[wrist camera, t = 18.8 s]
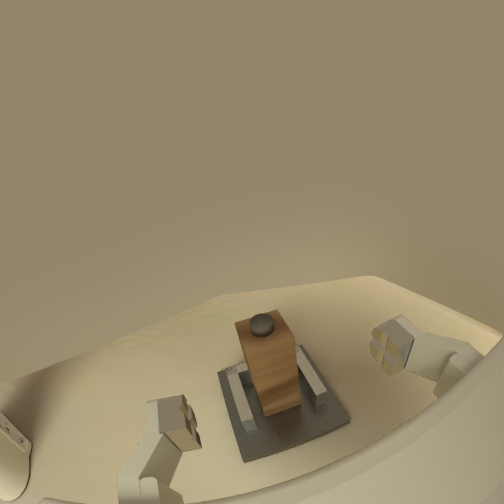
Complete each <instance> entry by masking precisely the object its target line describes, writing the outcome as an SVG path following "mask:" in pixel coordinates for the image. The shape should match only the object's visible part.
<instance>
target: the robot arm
mask: <svg viewBox="0 0 504 504" xmlns="http://www.w3.org/2000/svg"><path fill="white" fill-rule="evenodd" d="M372 336H373V337H374V338H373V339H372V341H371V342H370V351H371V354H372V356H373V357H374V359H375V360H376V361H379V362H382V368H383V369H384V370H385V371H386V372H387V373H388V374H389V376H392V375H394V374H395V373H397V372H399V371H401V370H402V369H404V368H405V370H408V371H410V372H413V373H415V374H418V375H420V376H423V377H425V378H428V379H430V380H433V381H435V382H438V383H437V384H436V386H435V388H434V391H433V393H434V394H435V395H436V396H437V397H438V399H437V400H436V401H434V402H433V403H432V404H431V405H429V406H428V407H427V408H425V409H424V410H423V411H421V412H420V413H418V414H417V415H416V416H414V417H413V418H411V419H410V420H408V421H407V422H405V423H404V424H402V425H401V426H399V427H398V428H396V429H395V430H393V431H391V432H390V433H388V434H386V435H385V436H383V437H381V438H380V439H378V440H376V441H375V442H373V443H371V444H369V445H367V446H366V447H364V448H362V449H360V450H358V451H356V452H354V453H352V454H350V455H348V456H346V457H344V458H342V459H340V460H338V461H336V462H333V463H331V464H329V465H327V466H324V467H322V468H320V469H317V470H315V471H312V472H310V473H307V474H305V475H302V476H299V477H297V478H294V479H291V480H288V481H285V482H282V483H279V484H276V485H273V486H269V487H266V488H263V489H259V490H255V491H252V492H248V493H244V494H239V495H235V496H230V497H225V498H220V499H215V500H209V501H203V502H196V503H188V504H504V336H503V337H502V338H501V339H500V341H499V342H498V343H497V344H496V345H495V346H494V347H493V348H492V349H491V350H490V352H489V353H488V354H487V355H486V356H485V357H484V356H483V355H482V354H480V353H479V352H478V351H477V350H476V349H475V348H474V347H472V346H471V345H470V344H469V343H468V342H464V341H460V340H455V339H451V338H447V337H442V336H438V335H434V334H430V333H425V334H424V333H422V332H421V331H420V330H419V329H418V328H417V327H415V326H414V325H413V324H412V323H411V322H410V321H408V320H407V319H406V318H405V317H404V316H402V315H399V316H397V317H395V318H393V319H392V320H389V321H387V322H385V323H383V324H381V325H379V326H377V327H375V328H374V329H373V331H372ZM145 413H146V436H143V437H142V439H141V440H140V442H139V443H138V445H137V447H136V448H135V450H134V451H133V453H132V455H131V456H130V458H129V459H128V461H127V463H126V464H125V466H124V468H123V469H122V471H121V472H120V474H119V475H118V477H117V484H118V500H119V504H184V502H183V498H182V495H181V494H179V493H178V492H176V491H174V490H173V489H171V488H169V485H170V483H171V480H172V478H173V475H174V473H175V470H176V468H177V466H178V463H179V461H180V458H181V456H182V452H187V451H192V450H196V449H201V448H202V446H201V441H200V436H199V434H198V432H197V431H196V430H195V429H196V427H197V422H196V418H195V415H194V412H193V410H192V408H191V406H190V405H188V404H187V400H186V398H185V396H184V395H179V396H173V397H168V398H162V399H156V400H150V401H146V404H145ZM31 447H32V444H31V442H30V441H29V440H28V439H27V438H26V437H25V436H24V435H23V434H22V433H21V432H20V431H19V430H18V429H17V428H16V427H15V426H14V425H13V424H12V423H11V422H10V421H9V420H8V419H7V418H6V417H5V416H4V415H3V414H2V413H0V499H1V500H4V501H12V500H14V499H16V498H17V497H19V496H20V495H21V493H22V492H23V490H24V489H25V487H26V484H27V481H28V477H29V455H30V451H31ZM38 504H84V503H76V502H70V501H64V500H59V499H54V498H43V499H42V500H41V501H40V502H39V503H38Z"/></svg>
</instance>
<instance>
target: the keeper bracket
mask: <svg viewBox="0 0 504 504" xmlns="http://www.w3.org/2000/svg"><path fill="white" fill-rule="evenodd" d="M295 348H296V357H297V367H298V377H299V387H300V397H301V404H299V405H296V406H294V407H291V408H288V409H286V410H283V411H280V412H277V413H274V414H271V415H269V416H266V417H265V415H264V413H263V410H262V408H261V405H260V403H259V400H258V398H257V395H256V392H255V390H254V387H253V383H252V380H251V377H250V374H249V370H248V367H247V364H246V363H243V364H239V365H236V366H233V367H229V368H226V369H225V370H224V371H220V372H217V373H218V377H219V381H220V384H221V388H222V392H223V396H224V399H225V403H226V406H227V410H228V413H229V417H230V420H231V424H232V427H233V430H234V434H235V437H236V440H237V443H238V447H239V450H240V453H241V456H242V459H243V461H244V463H246V462H250V461H253V460H257V459H260V458H263V457H267V456H270V455H273V454H276V453H279V452H282V451H285V450H288V449H290V448H293V447H296V446H298V445H301V444H304V443H306V442H309V441H311V440H314V439H316V438H318V437H321V436H323V435H325V434H327V433H330V432H332V431H334V430H336V429H338V428H340V427H343V426H345V425H347V424H349V423H350V421H351V419H350V418H349V416H348V415H347V413H346V412H345V410H344V408H343V407H342V405H341V404H340V402H339V401H338V399H337V398H336V396H335V395H334V393H333V392H332V390H331V389H330V387H329V386H328V384H327V383H326V381H325V380H324V378H323V377H322V375H321V374H320V372H319V370H318V369H317V367H316V366H315V364H314V363H313V361H312V360H311V358H310V357H309V355H308V354H307V352H306V351H305V349H304V347H303V346H302V345H299V346H298V345H296V346H295Z"/></svg>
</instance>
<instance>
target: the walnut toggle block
mask: <svg viewBox="0 0 504 504" xmlns="http://www.w3.org/2000/svg"><path fill="white" fill-rule="evenodd" d="M235 326H236V330H237V333H238V337H239V340H240V343H241V347H242V350H243V354H244V357H245V360H246V364H247V367H248V370H249V374H250V377H251V380H252V383H253V387H254V390H255V392H256V395H257V398H258V400H259V403H260V405H261V408H262V410H263V413H264V415H265V417H266V416H269V415H271V414H274V413H277V412H280V411H283V410H286V409H288V408H291V407H294V406H296V405H299V404H301V397H300V387H299V377H298V367H297V357H296V348H295V339H294V335H293V334H292V332H291V330H290V329H289V327H288V326H287V324H286V323H285V321H284V320H283V318H282V316H281V315H280V313H279V312H278V310H274V311H271V312H268V313H265V314H257V315H255V316H253V317H252V318H249V319H246V320H242V321H239V322H236V323H235Z"/></svg>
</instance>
